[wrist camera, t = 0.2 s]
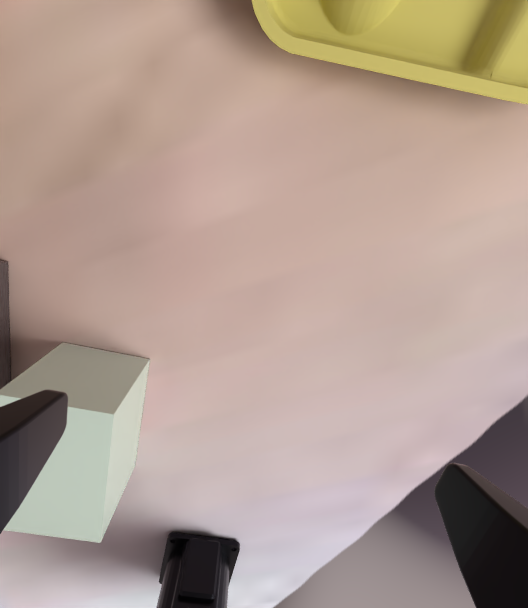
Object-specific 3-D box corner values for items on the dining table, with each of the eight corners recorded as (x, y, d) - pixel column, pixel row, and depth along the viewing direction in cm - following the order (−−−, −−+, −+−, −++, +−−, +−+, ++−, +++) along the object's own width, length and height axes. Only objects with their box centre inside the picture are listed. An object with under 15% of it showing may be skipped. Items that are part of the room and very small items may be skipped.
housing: (135, 465, 25) (100, 542, 20) (58, 453, 25) (0, 529, 19) (149, 358, 22) (113, 414, 17) (62, 342, 22) (-6, 394, 16)
